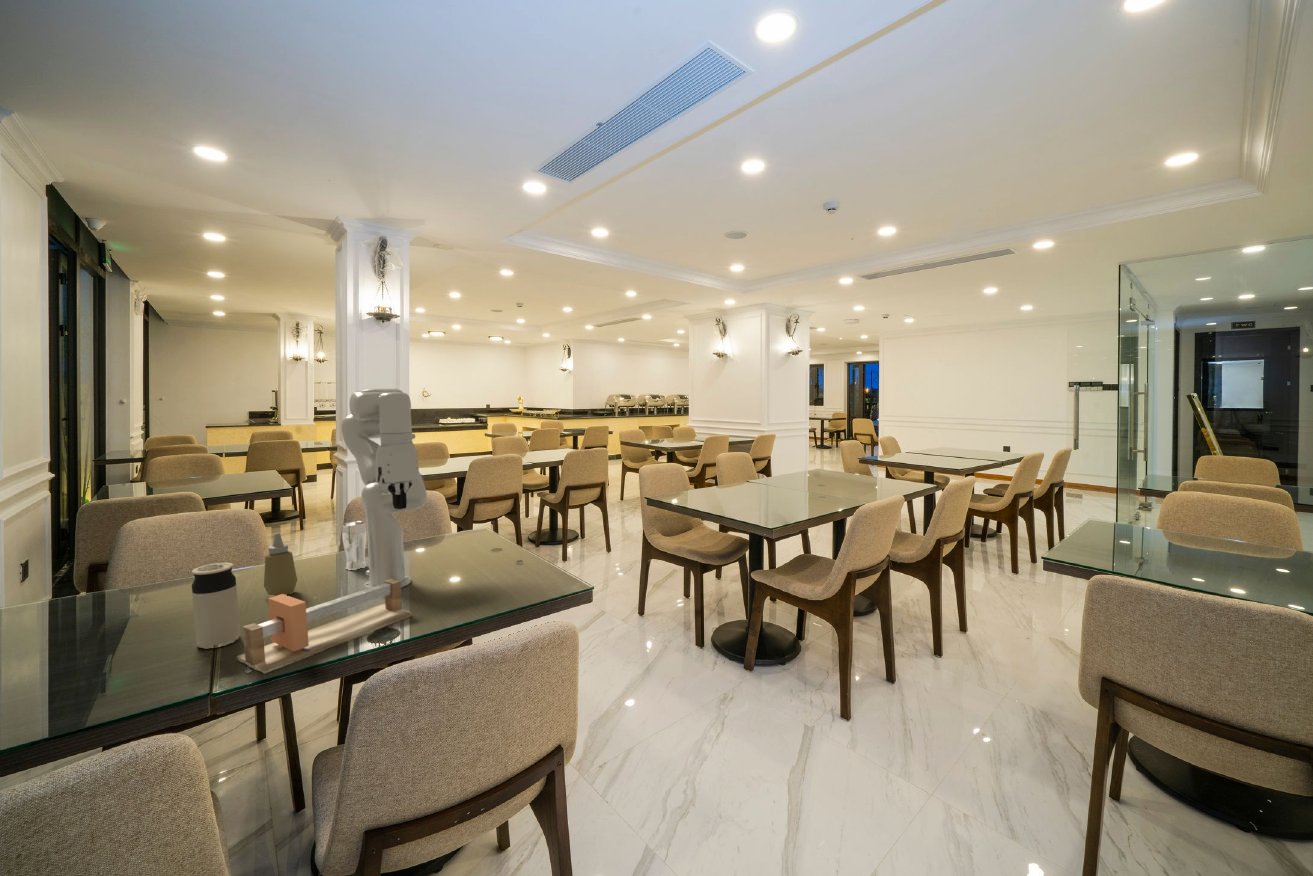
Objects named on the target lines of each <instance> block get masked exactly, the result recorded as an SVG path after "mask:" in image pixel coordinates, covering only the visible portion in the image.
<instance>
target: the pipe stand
mask: <svg viewBox="0 0 1313 876" xmlns="http://www.w3.org/2000/svg"><path fill="white" fill-rule="evenodd" d="M383 597H384V603H380V604H378V605H376V606H372V607H370V608H367V609H365V610H361V611H359V612H356V613H353V614H350V615H348V616H345V617H343V618H342V617H341V618H339V619H336V620H333V621H331V622H327V623H325V624H323V625H320V626H317V627H314V628H312V629H308V643H309V646H307V647H304V648H302V649H299V650H297V651H292V650H290V649H288V648H285V647H283V646H281V645H279V644H276V643H274V642H272V643H269V644H267V645H265V643H264V638H268V637H271V635H273V634H276V633H279V632H282V631H285V625H284V619H283V618H281V617H279V618H276V619H273V620H270V619H269V620H267V621H264V622H261V623H258V624H257V623H255V622H253V623H250V624H245V625H243V626H242V633H243V645H244V646H243V647H244V653H242V654H238V655H236V658H237V657H238V658H239V659H241V660H244V661H245V662H248V663H250V664H251V665H253V666H255V667H256V668H258V669H260V670H262V671H267V670H269V669H272V668H275V667H277V666H281V665H285V664H286V663H290V662H293V661H296V660H299V659H302V660H304V659H305V658H304V657H306V656H309V655H312V654H315V653H317V652H319V651H322V652H324V651H323V650H324V649H327V648H330V647H332V646H335V645H337V646H339V645H338V644H340V643H342V644H344V643H343V642H345V643H347V642H349V641H348V640H350V641H352V640H355V639H357V638H359V637H363V636H365V635H367V634H369V633H372V632H374V631H377V630H379V629H382V628H385V627H387V626H389V625H392V624H395V623H398V622H399V621H403V620H405V619H407V618H408V619H409V618H410V617H412V612H411V611H409V610H406V609H403V605H402V602H403V601H402V588H401V583H400V581H397V580H393V579H389V580H386V581H384V584H381V585H378V586H375V587H371V588H368V589H365V588H364V589H363V590H360V591H356V592H353V593H351V594H348V595H344V596H341V597H338V598H335V599H332V600H329V601H326V602H322V603H320V604H316V605H314V606H310V607H308V608H307V607H306V613H307V624H308V623H310V622H313V621H315V620H319V619H322V618H324V617H328V616H331V615H333V614H336V613H339V612H342V611H345V610H348V609H351V608H354V607H356V606H359V605H362V604H366V603H368V602H371V601H373V600H378V599H379V598H383ZM351 639H352V640H351ZM340 645H341V644H340ZM335 647H336V646H335ZM332 648H333V647H332ZM330 649H331V648H330ZM327 650H328V649H327ZM317 654H318V653H317ZM315 655H316V654H315ZM312 656H313V655H312ZM309 657H310V656H309ZM303 658H304V659H303ZM299 661H300V660H299Z"/></svg>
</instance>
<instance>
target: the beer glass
mask: <svg viewBox="0 0 1313 876" xmlns="http://www.w3.org/2000/svg"><path fill="white" fill-rule="evenodd" d="M341 534H342V538H341V539H342V542H343V549H344V552H345V555H346V563H345V564H346V565H345V566H346V567H345V570H346V569H348V570H347V571H349V570H354V571H358V570H357V569H360V568H363V569H366V568H367V567H366V566H368V565H367V561H366V549H367V548H366V546H367V526H366V521H363V520H362V521H360V520H357V521H350V522H345V523H342V532H341ZM365 567H366V568H365ZM360 570H361V569H360Z"/></svg>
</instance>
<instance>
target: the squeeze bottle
mask: <svg viewBox="0 0 1313 876" xmlns="http://www.w3.org/2000/svg"><path fill="white" fill-rule="evenodd" d="M272 542H273V543H272V545H270V546H269V547H268V549H267V550H268V554H266V556H264V557H265V558H264V571H263V572H264V573H263V574H264V575H263V576H264V578H263V588H264V589H265V591H266V593H267V595H268V594H269V595H275V596H277V595H281V594H284V595H286V594H290V593H292V592H293V591H295V589H296V585H297V582H298V576H297V572H296V567H295V561H294V556H293V552H292V551H290V550H289V545H288V544H286V543H284V542H283V539H282V535H281V533H280V532H276V533H274V536H273V541H272ZM293 593H294V592H293ZM293 593H292V594H293ZM269 595H268V596H269ZM290 595H291V594H290Z"/></svg>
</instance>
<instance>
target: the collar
mask: <svg viewBox="0 0 1313 876" xmlns="http://www.w3.org/2000/svg"><path fill="white" fill-rule="evenodd" d="M267 601H268V602H267V605H268V615H269V617H268V618H269V621H270V620H273V619H276V618H279V617H281V618H283V619H284V625H285V631H282V632H279V633H276V634H273V635H270V641H271V642H272V643H276V644H279V645H281V646H283V647H285V648H288V649H290V650H292V651H297V650H299V649H302V648H304V647H307V646H309V643H308V630H309V629H308V623H307V613H306V609H307V602H306V601H305V600H301V599H298V598H296V597H292V596H290V595H288V596H287V595H284V594H281V595H277V596H274V597H268V598H267Z"/></svg>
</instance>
